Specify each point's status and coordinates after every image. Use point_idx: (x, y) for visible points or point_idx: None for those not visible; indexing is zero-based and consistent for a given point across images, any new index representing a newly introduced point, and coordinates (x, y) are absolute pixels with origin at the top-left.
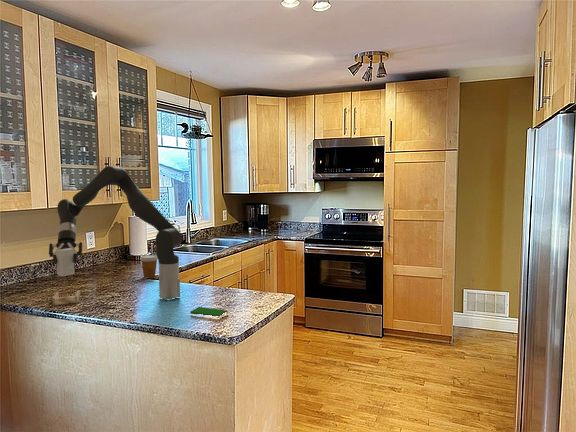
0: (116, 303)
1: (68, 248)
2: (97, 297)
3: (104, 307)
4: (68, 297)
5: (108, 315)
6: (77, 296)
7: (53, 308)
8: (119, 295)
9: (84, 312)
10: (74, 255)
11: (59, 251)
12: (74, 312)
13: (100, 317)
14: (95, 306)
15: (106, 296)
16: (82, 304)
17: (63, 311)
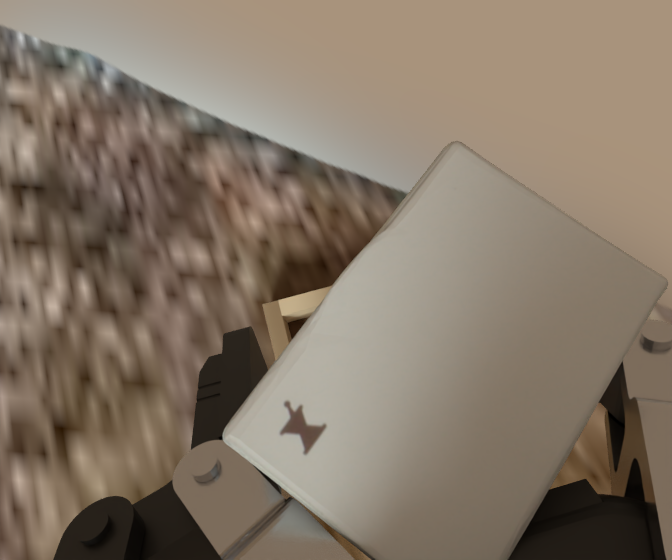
0: (15, 277)
1: (397, 505)
2: (171, 433)
3: (75, 204)
4: (318, 290)
5: (29, 74)
6: (266, 318)
7: (372, 209)
8: (20, 474)
9: (167, 128)
10: (231, 402)
11: (497, 176)
12: (222, 132)
13: (64, 50)
14: (133, 227)
15: (111, 455)
16: (225, 274)
17: (290, 153)
